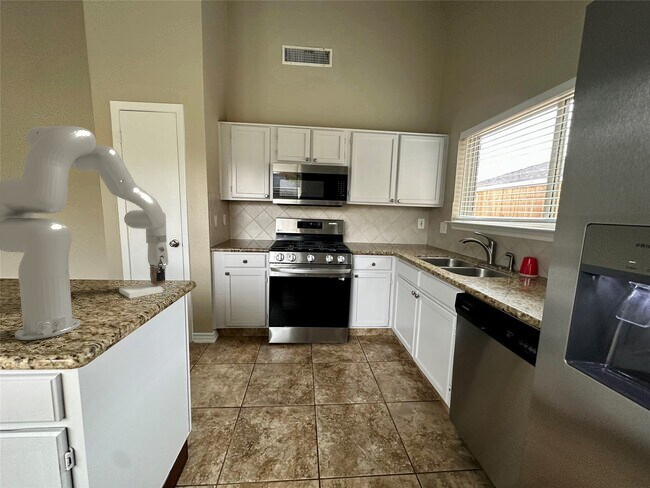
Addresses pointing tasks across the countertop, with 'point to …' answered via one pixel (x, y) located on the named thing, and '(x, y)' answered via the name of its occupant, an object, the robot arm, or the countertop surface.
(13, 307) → the countertop surface
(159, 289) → the cutting board
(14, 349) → the countertop surface
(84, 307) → the countertop surface
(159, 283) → the two-tone wooden block
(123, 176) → the robot arm
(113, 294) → the countertop surface
